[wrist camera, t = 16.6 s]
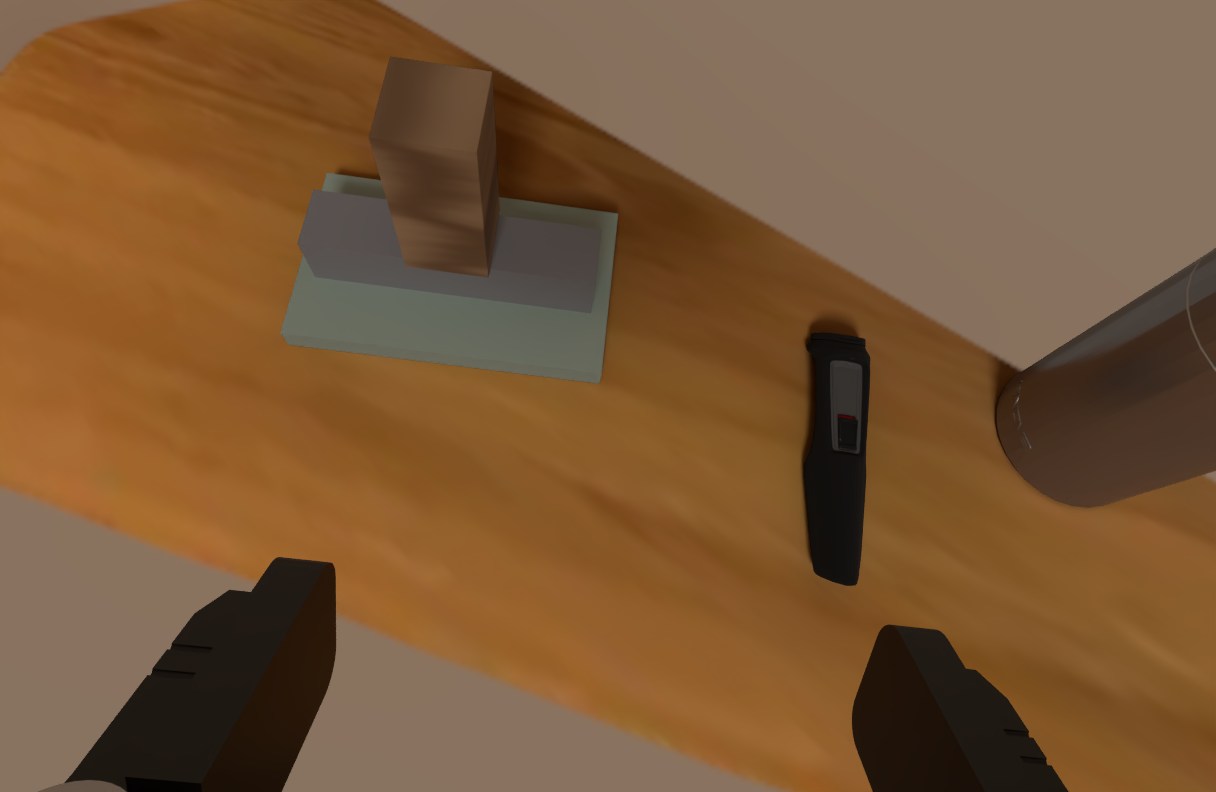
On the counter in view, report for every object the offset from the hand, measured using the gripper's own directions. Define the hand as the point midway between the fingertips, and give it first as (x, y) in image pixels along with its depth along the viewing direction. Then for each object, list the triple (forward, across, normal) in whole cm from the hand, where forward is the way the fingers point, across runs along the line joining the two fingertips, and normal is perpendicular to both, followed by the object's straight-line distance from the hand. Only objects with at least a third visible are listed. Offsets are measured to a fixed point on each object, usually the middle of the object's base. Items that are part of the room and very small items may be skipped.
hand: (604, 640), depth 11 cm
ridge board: (+36, +8, +5) cm, 37 cm away
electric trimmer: (+30, -15, +11) cm, 36 cm away
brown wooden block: (+32, +8, +2) cm, 33 cm away
